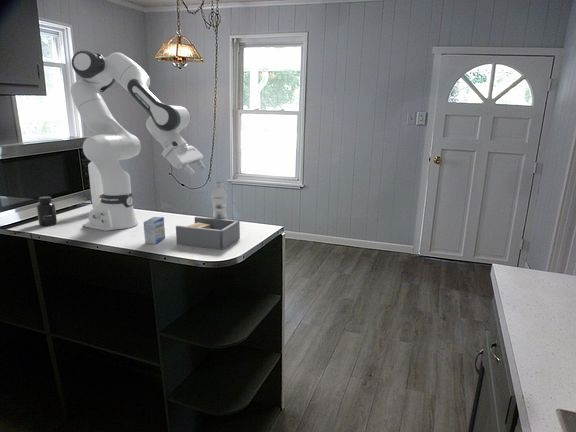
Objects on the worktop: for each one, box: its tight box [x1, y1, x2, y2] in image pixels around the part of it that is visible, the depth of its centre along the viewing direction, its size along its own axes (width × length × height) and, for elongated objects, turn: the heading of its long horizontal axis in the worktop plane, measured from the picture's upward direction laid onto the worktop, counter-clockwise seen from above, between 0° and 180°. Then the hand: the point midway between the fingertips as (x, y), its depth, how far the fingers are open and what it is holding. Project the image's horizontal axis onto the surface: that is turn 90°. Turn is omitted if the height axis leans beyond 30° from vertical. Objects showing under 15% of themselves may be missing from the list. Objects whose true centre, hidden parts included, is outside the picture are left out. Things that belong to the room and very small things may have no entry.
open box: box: [175, 216, 241, 250], centre depth 156 cm, size 19×15×7 cm
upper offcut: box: [186, 222, 210, 229], centre depth 158 cm, size 6×9×3 cm, turn 149°
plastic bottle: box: [210, 181, 229, 220], centre depth 171 cm, size 6×7×20 cm
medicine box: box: [143, 216, 166, 245], centre depth 156 cm, size 8×4×9 cm, turn 170°
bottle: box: [87, 161, 103, 209], centre depth 197 cm, size 8×8×28 cm
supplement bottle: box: [36, 195, 58, 227], centre depth 175 cm, size 7×7×12 cm
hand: (198, 171), depth 171 cm, fingers open, 8 cm apart
